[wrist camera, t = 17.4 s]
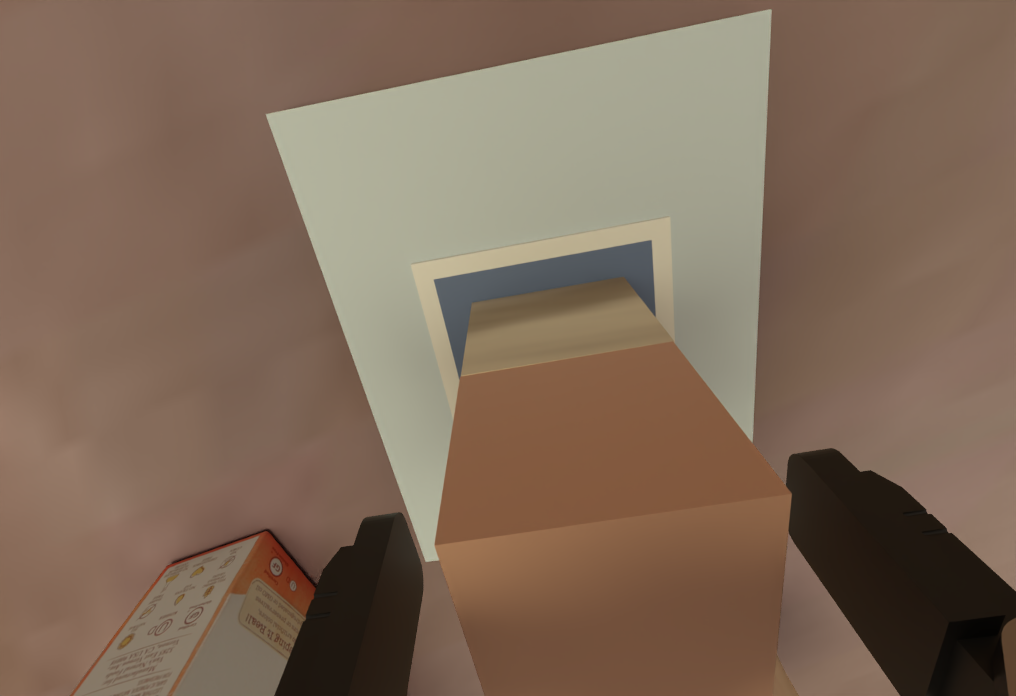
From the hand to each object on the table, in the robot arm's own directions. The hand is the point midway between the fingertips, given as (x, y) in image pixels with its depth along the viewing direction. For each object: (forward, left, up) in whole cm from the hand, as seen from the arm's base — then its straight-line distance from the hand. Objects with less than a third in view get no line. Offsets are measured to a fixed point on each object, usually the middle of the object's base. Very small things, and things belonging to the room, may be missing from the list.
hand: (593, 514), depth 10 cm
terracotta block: (0, 0, -2) cm, 2 cm away
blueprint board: (0, 0, -9) cm, 9 cm away
